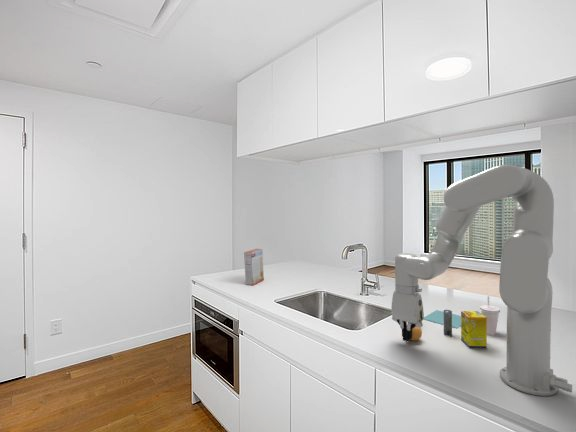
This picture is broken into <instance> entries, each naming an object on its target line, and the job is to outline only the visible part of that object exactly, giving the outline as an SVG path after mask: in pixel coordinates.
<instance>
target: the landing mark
mask: <svg viewBox="0 0 576 432" xmlns="http://www.w3.org/2000/svg"><path fill="white" fill-rule="evenodd" d="M423 321H427V322H432V323H436V324H440V325H443V326H444V311H443V310H439V309H438V310H437V309H436V310H434V311H433V312H431V313H429V314H427V315H426V316H424V319H423ZM452 328H453V329H459V328H461V315H458V314H454V313H452Z"/></svg>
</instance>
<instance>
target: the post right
mask: <svg viewBox="0 0 576 432" xmlns="http://www.w3.org/2000/svg"><path fill="white" fill-rule="evenodd" d="M443 312H444V325H443V335H444V336H446V337H452V336H453V327H452V314H453V311H452V310H450V309H444V310H443Z"/></svg>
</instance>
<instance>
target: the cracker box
mask: <svg viewBox="0 0 576 432" xmlns="http://www.w3.org/2000/svg"><path fill="white" fill-rule="evenodd" d="M263 254H264V253H263V249H262V248H254V249H251V250H248V251H244V253H243V255H244V272H245V273H244V274H245V275H244V277H245V285H246V286H255V285H257V284H259V283H261V282H262V281H264V280H265V279H264V278H265V277H264V275H265V274H264V256H263Z"/></svg>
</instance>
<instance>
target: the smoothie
mask: <svg viewBox="0 0 576 432" xmlns="http://www.w3.org/2000/svg"><path fill="white" fill-rule="evenodd" d="M479 310H480V313H481V314H482V315H483V316H485V317H486V318H487V336H488V335H489V336H495V335H496V333H497V328H498V322H499V315H500V312H501V309H500V308H499V306H498V307H497V306H496V305H495V306H494V305H491V304H490V296H487V304H483V305H480V306H479Z"/></svg>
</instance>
